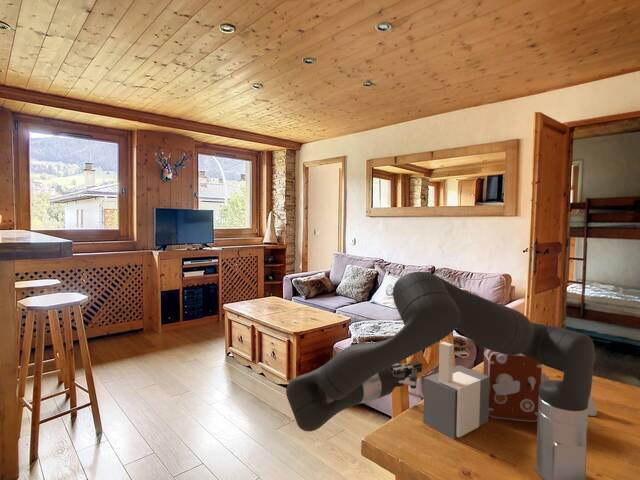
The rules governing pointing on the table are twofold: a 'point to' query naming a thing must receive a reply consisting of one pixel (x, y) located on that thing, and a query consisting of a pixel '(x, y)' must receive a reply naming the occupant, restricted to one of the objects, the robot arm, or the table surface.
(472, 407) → the grooved cream block
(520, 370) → the brown boxy piece
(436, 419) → the camera housing
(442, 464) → the table surface
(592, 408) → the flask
